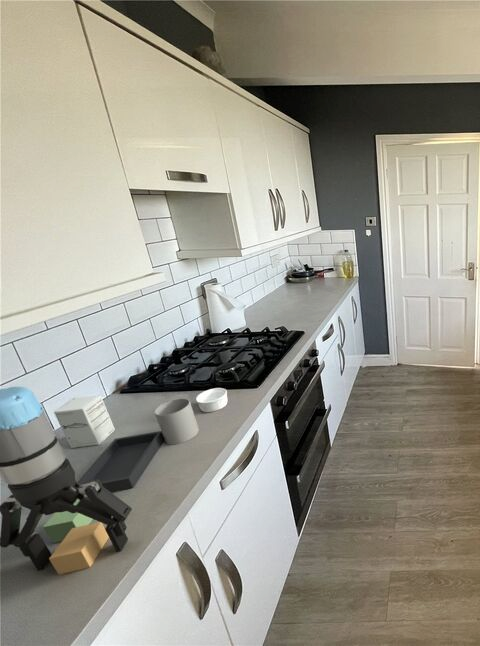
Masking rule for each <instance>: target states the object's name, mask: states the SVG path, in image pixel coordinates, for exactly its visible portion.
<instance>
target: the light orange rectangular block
mask: <svg viewBox="0 0 480 646" xmlns="http://www.w3.org/2000/svg"><path fill="white" fill-rule="evenodd" d="M105 528H106V527H105V526H104V523H101V522H99V521H97V522H94V523H90V524H89V525H85V526H80V527H76V528H72V529H71V530H70V532H69V533H68V534H67V536H66V537H65V538H64V540H62V541H60V543H59V544H58V546H57V547H56V548H55V550H53V553H51V554H52V555H51V557H50V558H49V560H50V561H49V562H50V563H51V565H52V566H53V568H54V569H55V571H56V573H57V575H65V574H68V573H73V572H76V571H81V570H84V569H90V568H91V567H92V566H93V564H94V562H95V561H96V559H97V557H98V555H99V554H100V552H101V551H102V550H103V548H104V546H105V545H106V543H107V542H108V540H109V539H110V538H109V536H108V534H107V532H106V530H105Z"/></svg>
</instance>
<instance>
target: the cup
mask: <svg viewBox="0 0 480 646" xmlns="http://www.w3.org/2000/svg"><path fill="white" fill-rule="evenodd" d="M154 415H155V419H156V421H157V424H158V427H159V429H160V431H161V432H162V434H163V437H164V442H165V443H166V444H167V445H178V444H179V445H180V444H182V443H185V442H187V441H190V440H191V439H192V438H194V437H196V436H197V434H198V433H199V430H200V428H199V424H198V422H197V419H196V416H195V413H194V410H193V407H192V404H191V400H189V399H188V398H176V399H175V398H174V399H171V400H169V401H166V402H164V403H162V404H160V405H159V406H157V407H156V408H155V409H154Z"/></svg>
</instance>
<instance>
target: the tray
mask: <svg viewBox="0 0 480 646" xmlns="http://www.w3.org/2000/svg"><path fill="white" fill-rule="evenodd" d="M164 442H165V440H164V437H163V434H162V432H161V430H159V431H153V432H148V433H147V432H146V433H141V434H134V435H129V436H123V437H118V438H117V437H116V438H114V439H113V440H112V441H111V443H110V444H109V445H108V446H107V447H106V448H105V449H104V451H103V452H102V453H101V454H100V455H99V456H98V458H97V459H96V460H95V461H94V462H93V463H92V465H91V466H90V467H89V468H88V469H87V470H86V472H85V473H84V474H83V475H82V476H81V477H80V478H79V480H78V481H77V482H78V483H79V484H81V485H83V484H88V483H91V481H92V480H93V479H99V480H100V481H101V483H102V485H103V487H105V488H106V489H107V490H109V491H110V492H111V493H115V492H120V491H125V490H129V489H133V488H135V486H136V484H137V483H138V481H139V480H140V478H141V477H142V476H143V474H144V472H146V469H147V468H148V466H149V465H150V463H151V462H152V460H153V458H154V457H155V455H156V454H157V452H158V451H159V449H160V448H161V447H162V445H163V443H164Z"/></svg>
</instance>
